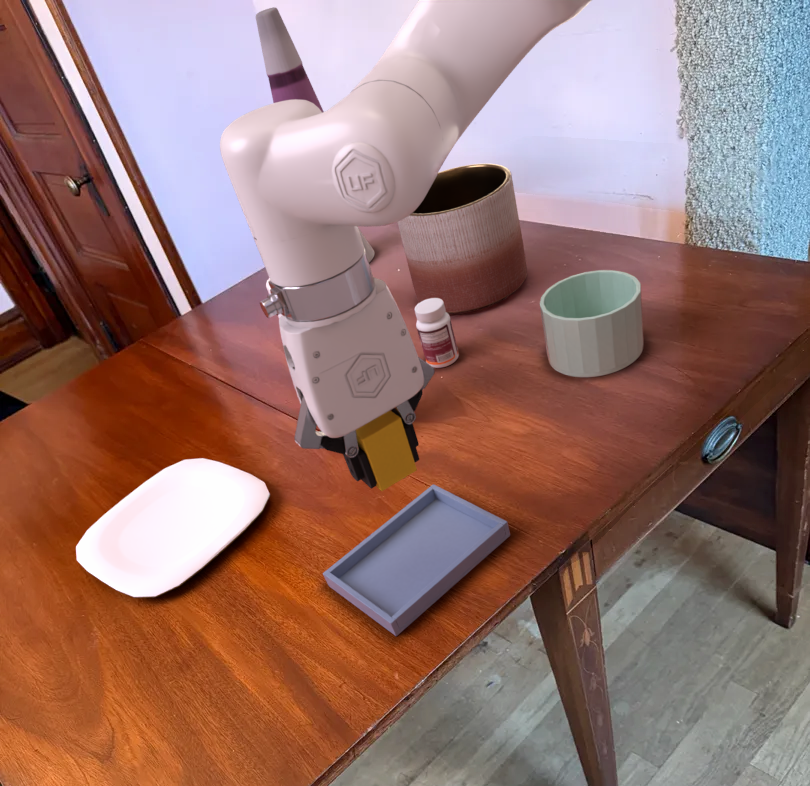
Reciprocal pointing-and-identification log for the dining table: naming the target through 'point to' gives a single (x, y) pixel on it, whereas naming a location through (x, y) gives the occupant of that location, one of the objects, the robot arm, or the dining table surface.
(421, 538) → the tray
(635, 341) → the mint faceted tub
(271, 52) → the lamp
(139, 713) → the dining table surface
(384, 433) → the yellow block
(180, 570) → the plate
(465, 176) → the planter
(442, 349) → the pill bottle
